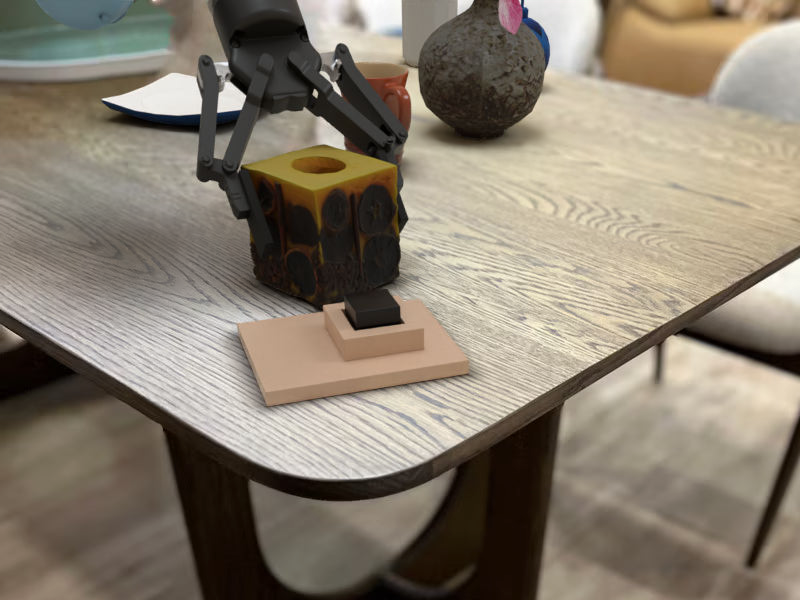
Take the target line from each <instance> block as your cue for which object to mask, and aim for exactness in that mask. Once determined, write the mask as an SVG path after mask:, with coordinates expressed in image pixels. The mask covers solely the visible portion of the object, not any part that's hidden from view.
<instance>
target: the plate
mask: <svg viewBox="0 0 800 600" xmlns="http://www.w3.org/2000/svg"><path fill="white" fill-rule="evenodd" d="M196 77H197V76H192V75H188V74H183V73H179V72H170V73H169V74H167V75H165V76H163V77H160V78H159V79H157V80H155V81H153V82H151V83H149V84H147V85H145V86H142V87H140V88H136V89H134V90H132V91H129V92H126V93H123V94H119V95H113V96H110V97H104V98H101V102H102V104H103V105H105V106H106V107H107V108H109V110H112V111H116V112H119V113H123V114H125V115H129V116H132V117H135V118H138V119H142V120H145V121H148V122H153V123H158V124H163V125H173V126H174V125H175V126H200V120H201V107H202V97H201V94H200V91H199V87H198V84H197V80H196ZM245 99H246V95H245V94H243V93H242V92H241V91H240V90H239V89H238V88H236V87H235V86H234V85H233V84H232V83H231V82H230V81H225V85H224V90H223V91H222V92H219V96H218V109H217V122H216V126H217V125H221V124H225V123H230V122H235V121H237V120H238V118H239V115H240V112H241V110H242V107H243V104H244V102H245Z"/></svg>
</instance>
